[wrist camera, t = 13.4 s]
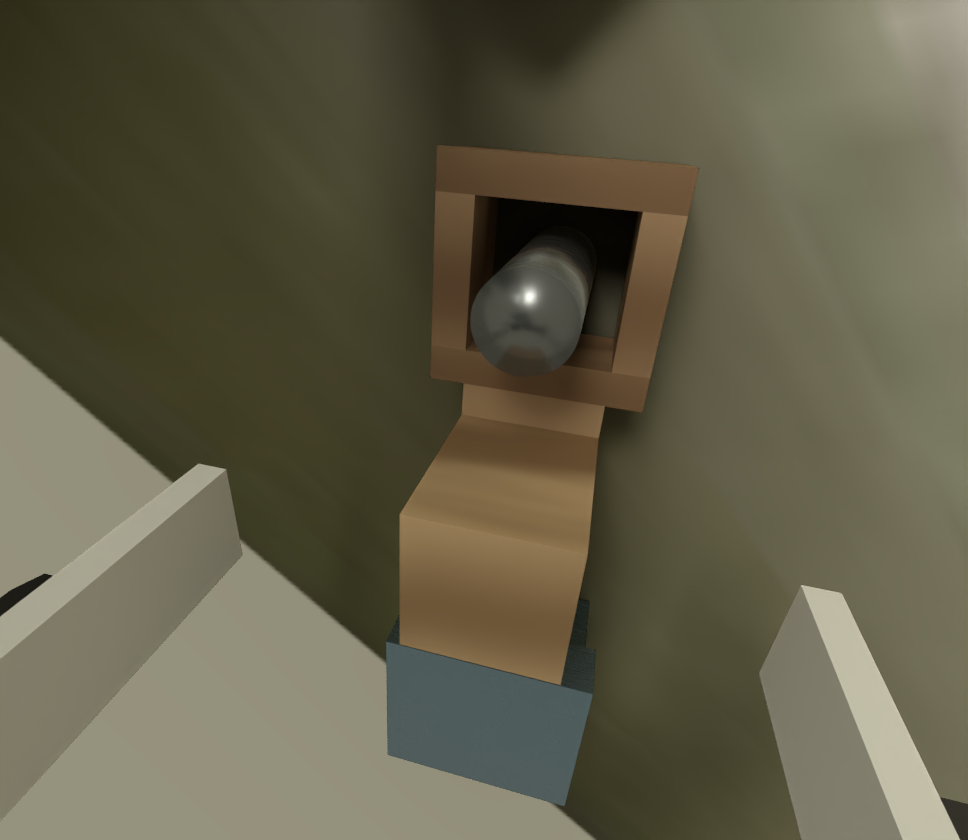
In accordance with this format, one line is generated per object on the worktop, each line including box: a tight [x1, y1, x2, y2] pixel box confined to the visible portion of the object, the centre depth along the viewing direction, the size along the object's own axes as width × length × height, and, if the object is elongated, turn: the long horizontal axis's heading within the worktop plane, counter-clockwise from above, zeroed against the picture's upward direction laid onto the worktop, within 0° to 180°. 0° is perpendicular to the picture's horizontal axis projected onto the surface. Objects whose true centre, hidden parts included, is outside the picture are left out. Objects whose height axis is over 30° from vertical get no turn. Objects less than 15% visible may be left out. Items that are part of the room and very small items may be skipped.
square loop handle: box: [400, 146, 699, 685], centre depth 15 cm, size 15×6×8 cm, turn 176°
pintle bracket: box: [386, 226, 597, 806], centre depth 17 cm, size 17×6×6 cm, turn 176°
